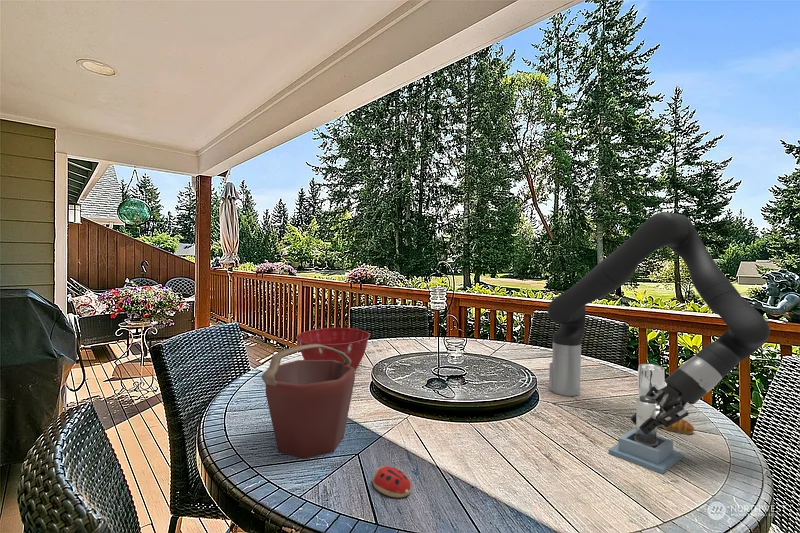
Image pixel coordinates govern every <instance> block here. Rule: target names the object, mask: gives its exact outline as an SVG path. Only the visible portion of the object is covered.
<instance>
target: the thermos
mask: <svg viewBox="0 0 800 533" xmlns="http://www.w3.org/2000/svg"><path fill="white" fill-rule="evenodd" d="M657 406H658V402H657V401H655V398H653V397H651V396H644V395H643V396H640V398H639V397H638V398H636V410H635V411H636V413H635V414H636V425H635V429H636V435H635V436H634V441H635V442H638V443H641V444H644V445H647V446H650V447H653V448H656V447H657V446H658V445H659V442H658V440H657V436H658V427H656V428H655V429H653V430H652V431H651V432H650V433H649V434H647V435H646V434H645V433H643V432H642V431H641V430H640V428H639V427H640V426H641V425H642V424H643V423H644V422H645V421H646V420H648V419H649V418H650V417H651V418H652V416H653V414H654V413H655V412H656V407H657Z"/></svg>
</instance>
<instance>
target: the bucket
mask: <svg viewBox="0 0 800 533" xmlns="http://www.w3.org/2000/svg"><path fill="white" fill-rule="evenodd" d="M312 348H324V349H328V350H331V351H334V352H337V353H338V354H339V355H340V356H341V357H342V358H343V359H344V362H343V363H341V362H338V361H336V360H304V359H298V360H294V361H289V362H286V363H282V364H281V361H282V359H284V358H286V357H288V356H290V355H292V354H295V353H298V352H301V351H302V350H306V349H312ZM269 362H270V363H269V366H268V368H267V369H266V370H265V371H264V372H263V374H262V375H261V379H262V380H263V382H264V384H265V395H266V402H267V405H268V411H269V415H270V420H271V424H272V429H273V434H274V438H275V443H276V447H277V453H278V454H281V455H286V456H291V457H295V458H298V459H302V460H305V459H308V458H309V459H310V458H312V457H317V456H322V455H326V454H330V453H335V451H336V450H337V448H338V447H339V445H340V443H341V442H342V441H343V439H344V438H345V432H346V426H347V422H348V416H349V410H350V408H351V401H352V395H353V392H354V391H353V390H354V385H355V378H356V377H355V373H356V372H355V371H356V369H355V368H353V367H351V366H350V364H351V359H350V358H349V357H348V356H347V355H346V354H345V353H344V352H341V351H339V350H336V349H334V348H331V347H327V346H324V345H320V344H309V345H302V346H299V345H297V346H293V347H289V348H287V349H284V350H283V349H282V350H281V351H278V352H277V353H275V354H273V355H272V356H271V358H270V361H269Z"/></svg>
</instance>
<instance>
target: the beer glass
mask: <svg viewBox="0 0 800 533" xmlns="http://www.w3.org/2000/svg"><path fill="white" fill-rule="evenodd" d="M665 379H666V378H665V368H664V367H663V366H661V365H660V366H659V365H656V364H650V363H641V364H639V365H638V370H637V380H636V382H637V390H638V398H640V396H643V395H644V396H645V395H646V394H647V393H648V392H649V390H650V389H651V388H652V387H655V388H656V389H657V390H660V389H662V388H664V387H665V384H666V382H665Z"/></svg>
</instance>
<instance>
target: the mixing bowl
mask: <svg viewBox="0 0 800 533" xmlns="http://www.w3.org/2000/svg"><path fill="white" fill-rule="evenodd" d="M370 336H371V334H370V333H369V332H368V331H365V330H363V329H357V328H351V327H323V328H315V329H310V330H307V331H303V332H300V333H299V334H297V335H296V336H295V338H296V340H297V343H298V346H302V345H309V344H320V345H324V346H327V347H331V348H334V349H336V350H339V351H341V352H344V353H345V354H346V355H347V356H348V357H349V358H350V359H351V364H350V366H351V367H353V368H355V370H356V369H358V368H359V365H360V363H361V362H362V360H363V357H364V355H365V353H366V350H367V346H368V341H369V338H370ZM300 353H301V355H302V358H303V360H336V361H338V362H341V363H343V362H344V359H343V358H342V357H341V356H340V355H339V354H338V353H337V352H334V351H331V350H328V349H324V348H312V349H306V350H302V351H300Z"/></svg>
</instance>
